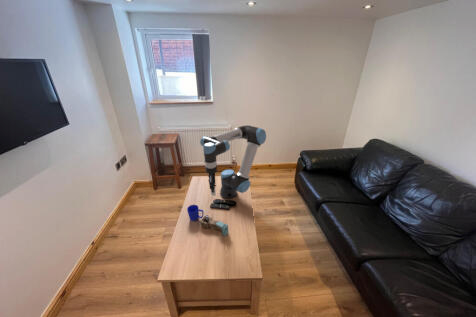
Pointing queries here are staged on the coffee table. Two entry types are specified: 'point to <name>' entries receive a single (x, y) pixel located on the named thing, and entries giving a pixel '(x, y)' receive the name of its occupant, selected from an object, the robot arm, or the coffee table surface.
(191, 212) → the mug
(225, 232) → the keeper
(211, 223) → the link
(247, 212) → the coffee table surface
